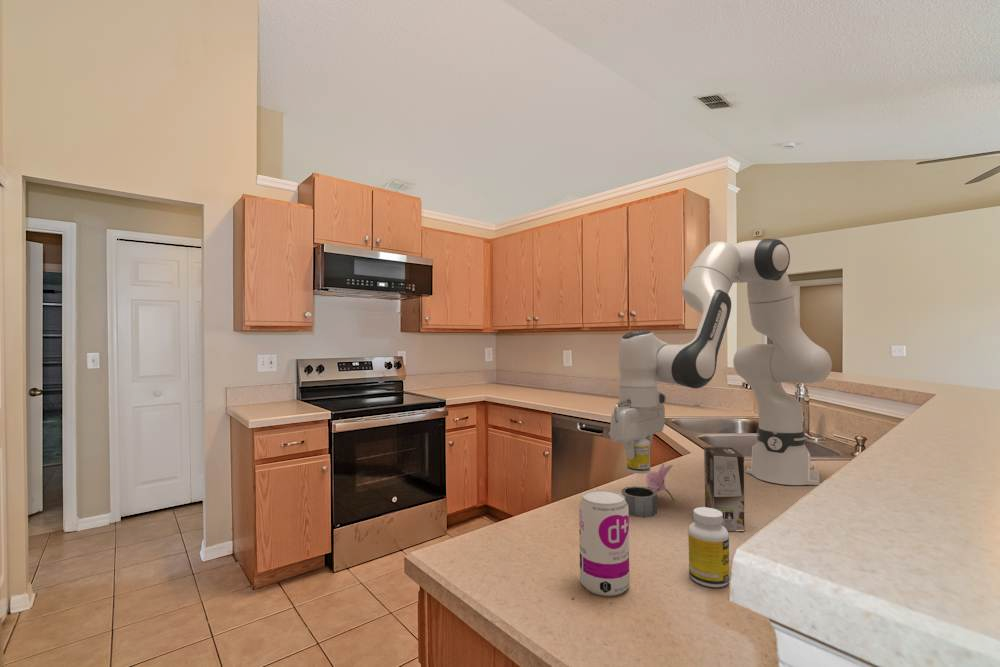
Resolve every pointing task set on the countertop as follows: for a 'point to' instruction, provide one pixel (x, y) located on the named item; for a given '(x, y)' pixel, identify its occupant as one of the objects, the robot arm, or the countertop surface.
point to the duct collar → (640, 501)
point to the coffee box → (725, 485)
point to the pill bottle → (708, 548)
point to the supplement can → (604, 542)
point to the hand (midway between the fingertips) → (638, 455)
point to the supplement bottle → (640, 456)
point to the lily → (658, 479)
